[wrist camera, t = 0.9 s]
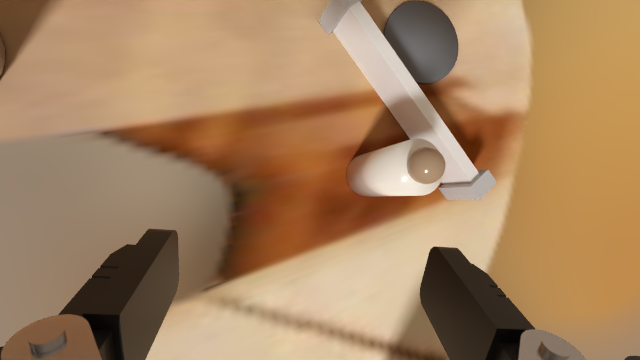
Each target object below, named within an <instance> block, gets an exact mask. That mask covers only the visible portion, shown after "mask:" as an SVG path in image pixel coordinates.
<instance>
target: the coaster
mask: <svg viewBox="0 0 640 360" xmlns="http://www.w3.org/2000/svg"><path fill="white" fill-rule="evenodd" d="M383 35H384V37H385V38H386V40H387V41H388V43H389V44H390V46H391V47H392V48H393V50H394V51H395V53H396V54H397V56H398V57H399V59H400V60H401V61H402V63H403V64H404V66H405V67H406V69H407V70H408V71H409V73H410V74H411V76H412V77H413V79H414V80H415V82H416V83H420V84H429V83H433V82H436V81H438V80H440V79H442V78H443V77H445V76H446V75H447V74H448V73H449V72H450V71H451V70H452V68H453V67H454V65H455V62H456V60H457V56H458V39H457V35H456V32H455V29H454V27H453V25H452V23H451V21H450V20H449V18H448V17H447V16H446V15H445V14H444V13H443V12H442V11H441V10H440V9H439V8H437V7H436V6H434V5H432V4H430V3H427V2H423V1H410V2H407V3H404V4H402V5H401V6H399V7H398V8H397V9H396V10H395V11H394V12H393V13H392V14H391V15H390V17H389V18H388V20H387V22H386V25H385V28H384V34H383Z"/></svg>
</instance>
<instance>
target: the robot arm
mask: <svg viewBox="0 0 640 360" xmlns="http://www.w3.org/2000/svg"><path fill="white" fill-rule="evenodd" d="M4 64H5V48H4V44H3V41H2V38H1V36H0V75H1V74H2V72H3V68H4ZM178 281H179V257H178V235H177V232H176V231H175V230H162V229H148V230H147V231H146V233H145V234H144V235H143V236H142V238H141V239H140V240H139V241H138V243H137V244H136V245H128V244H127V245H126V246H124V247H122V248H120V249H119V250H117V251H115V252H114V253H112V254H110V256H109V257H108V258H107V259H106V260H105V261H104V263H103V264H102V265H101V267H100V268H98V270H97V271H96V272H95V273H94V274H93V275H92V278H91V279H89V280H88V281H87V282H86V283H85V285H84V286H83V287H82V288H81V289H80V290H79V291H78V293H77V294H76V295H75V296H74V297H73V298H72V299H71V301H70V302H69V303H68V304H67V305H66V306H65V308H64V309H63V310H62V311H61V312H60V314H58V315H56V316H50V317H47V318H43V319H41V320H38V321H36V322H34V323H31V324H29V325H27V326H26V327H24V328H22V329H21V330H20V331H18V332H17V333H15V334H14V335H13V336H12V337H11V338H10V339H9V340H8V341H7V342H6V344H5V345H4V346H3V347H0V360H145V359H146V357H147V355H148V352H149V350H150V348H151V346H152V344H153V342H154V340H155V337H156V335H157V333H158V331H159V329H160V327H161V324H162V322H163V320H164V318H165V316H166V314H167V311H168V309H169V307H170V305H171V303H172V301H173V299H174V296H175V294H176V291H177V287H178ZM420 298H421V303H422V306H423V308H424V310H425V312H426V314H427V316H428V318H429V320H430V322H431V324H432V326H433V327H434V329H435V331H436V333H437V335H438V337H439V339H440V341H441V343H442V345H443V347H444V349H445V351H446V353H447V355H448V357H449V359H450V360H586V359H585V357H584V356H583V355H582V354H581V353H580V352H579V351H578V350H577V349H576V348H575V347H574V346H572V345H571V344H570V343H568V342H567V341H565V340H564V339H562V338H560V337H558V336H556V335H554V334H552V333H549V332H546V331H542V330H536V329H535V328H534V327H533V326H532V325H531V324H530V322H529V321H528V320H527V319H526V318H525V317H524V316H523V314H522V313H521V312H520V311H519V310H518V309H517V307H516V306H515V305H514V304H513V303H512V302H511V301H510V299H509V298H506V295H505V294H504V292H503V291H502V290H501V289H500V288H498V286H497V284H496V283H495V282H494V281H493V280H492V279H491V278H490V276H489V275H488V274H487V273H485V272H484V271H482V270H481V269H479V268H478V267H477V266H475V265H474V264H471V263H470V262H469V261H468V260H467V258H466V257H465V256H464V255H463V254H462V252H461V251H460V250H459V249H457V248H449V247H433V248H432V249H431V250H430V252H429V256H428V260H427V264H426V267H425V271H424V275H423V279H422V283H421V287H420ZM625 360H640V356H629V357H627V358H625Z"/></svg>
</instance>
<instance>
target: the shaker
mask: <svg viewBox="0 0 640 360" xmlns="http://www.w3.org/2000/svg"><path fill="white" fill-rule="evenodd" d="M445 167H446V164H445V160H444V157H443V156H442V154H441V153H440V152H439V151H438V149H437V148H436V147H435V146H434V145H433V144H432V143H431V142H429V141H427V140H424V139H419V138H415V139H410V140H407V141H404V142H401V143H397V144H394V145H391V146H388V147H385V148H381V149H378V150H375V151H372V152H369V153H365V154H362V155H359V156H357V157H355V158H354V159H353V160H352V161H351V162H350V163H349V165H348V167H347V171H346V179H347V182H348V185H349V187H350V188H351V189H352V191H354V192H355V193H356V194H358V195H361V196H420V195H426V194H429V193H431V192H432V191H434V190H435V189H436V188H437V187H438V185H439V184H440V182H441V180H442V177H443V174H444V171H445Z"/></svg>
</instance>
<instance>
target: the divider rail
mask: <svg viewBox="0 0 640 360" xmlns="http://www.w3.org/2000/svg"><path fill="white" fill-rule="evenodd" d="M361 2H362V0H330V2H329V3H328V5H327V7H326V9H325V11H324V12H323V14H322V16H321V18H320V20H319V21H318V22H319V23H320V24H321V26H322V27H323V29H324V30H325V31H326V33H327V34H328V35H329V34H330V33H332V32H334V34H335V35H336V36H337V38H338V39H339V41H340V42H341V43H342V45H343V46H344V48H345V49H346V50H347V52H348V53H349V55H350V56H351V57H352V59H353V60H354V62H355V63H356V64H357V66H358V67H359V69H360V70H361V71H362V73H363V74H364V75H365V77H366V78H367V80H368V81H369V82H370V84H371V85H372V87H373V88H374V89H375V91H376V92H377V94H378V95H379V96H380V98H381V99H382V101H383V102H384V103H385V105H386V106H387V108H388V109H389V110H390V112H391V113H392V115H393V116H394V117H395V119H396V120H397V122H398V123H399V124H400V126H401V127H402V129H403V130H404V131H405V133H406V134H407V136H408V137H409V138H410V139H415V138H419V139H424V140H427V141H429V142H431V143H432V144H433V145H434V146H435V147H436V148H437V149H438V151H439V152H440V153H441V154H442V156H443V157H444V160H445V164H446V167H445V171H444V174H443V177H442V180H441V183H442V185H441V186H440V187H439V190H440V191H441V192H442V194H443V195H444V197H445V198H446V199H447V200H480V199H481V198H482V197H483V196H484V195H485V194H486V193H487V192H488V191H489V190H490V189H491V188H492V187H493V186H494V185H495V184H496V183H497V182H496V180H495V179H494V177H493V176H492V174H491V173H490V171H489V170H488V169H487V170H478V171H477V169H476V168H475V167H474V165H473V164H472V162H471V161H470V159H469V158H468V156H467V155H466V154H465V152H464V151H463V149H462V148H461V146H460V145H459V143H458V142H457V141H456V139H455V138H454V136H453V135H452V133H451V132H450V131H449V129H448V128H447V126H446V125H445V123H444V122H443V120H442V119H441V118H440V116H439V115H438V113H437V112H436V110H435V109H434V107H433V106H432V105H431V103H430V102H429V100H428V99H427V97H426V96H425V95H424V93H423V92H422V90H421V89H420V87H419V86H418V84H417V83H416V82H415V80H414V79H413V77H412V76H411V74H410V73H409V71H408V70H407V69H406V67H405V66H404V64H403V63H402V61H401V60H400V59H399V57H398V56H397V54H396V53H395V51H394V50H393V48H392V47H391V46H390V44H389V43H388V41H387V40H386V38H385V37H384V35H383V34H382V33H381V31H380V30H379V28H378V27H377V25H376V24H375V22H374V21H373V20H372V18H371V17H370V15H369V14H368V12H367V11H366V10H365V8H364V7H363V5H362V4H361Z"/></svg>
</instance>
